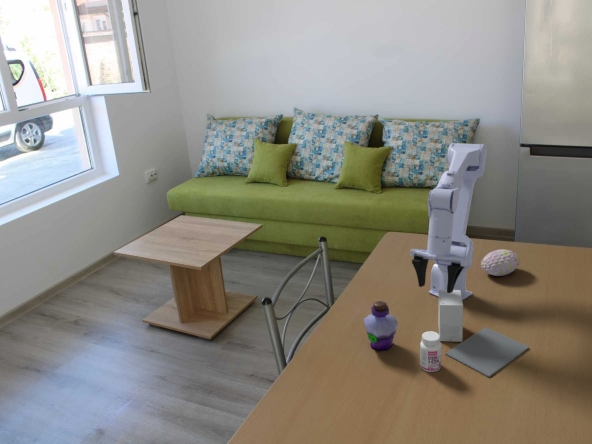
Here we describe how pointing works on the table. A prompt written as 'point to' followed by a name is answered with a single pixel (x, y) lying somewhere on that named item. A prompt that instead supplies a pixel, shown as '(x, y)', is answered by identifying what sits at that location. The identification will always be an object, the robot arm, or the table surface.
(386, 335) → the potion bottle
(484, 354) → the mat
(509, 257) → the decorative item
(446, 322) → the small box
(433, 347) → the pill bottle
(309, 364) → the table surface
